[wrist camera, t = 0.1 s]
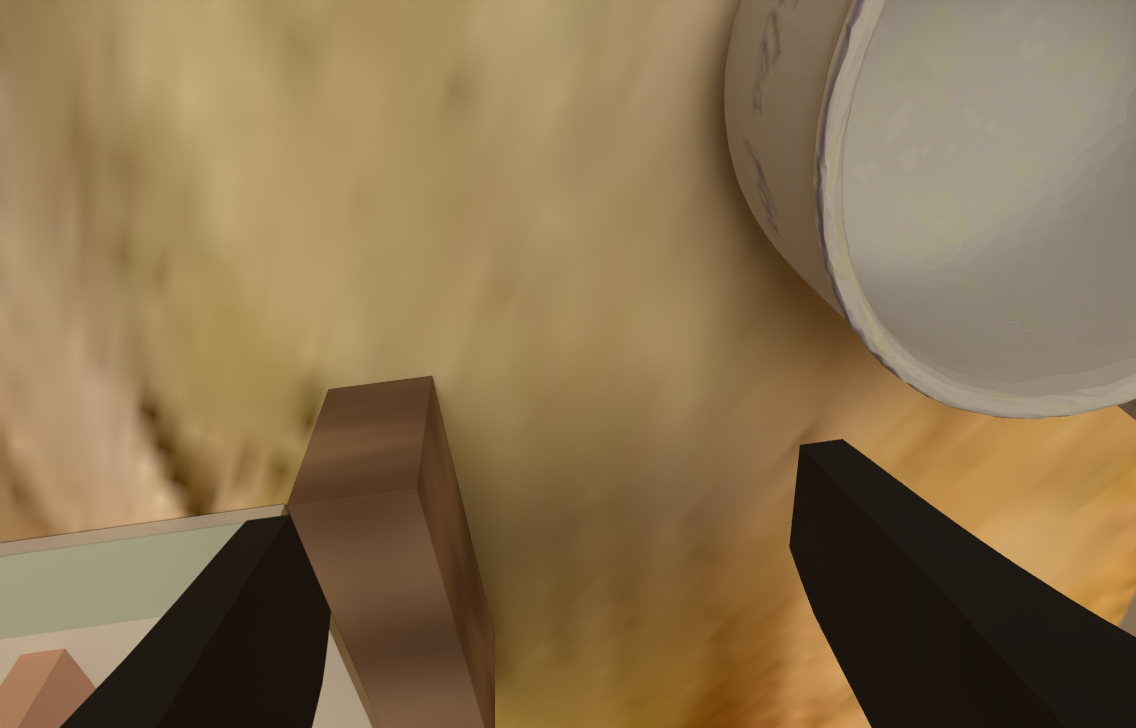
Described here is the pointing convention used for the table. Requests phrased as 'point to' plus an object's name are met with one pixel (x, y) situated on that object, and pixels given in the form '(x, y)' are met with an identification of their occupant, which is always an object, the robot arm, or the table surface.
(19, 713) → the tile
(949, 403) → the teacup
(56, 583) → the board
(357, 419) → the bar
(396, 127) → the table surface
